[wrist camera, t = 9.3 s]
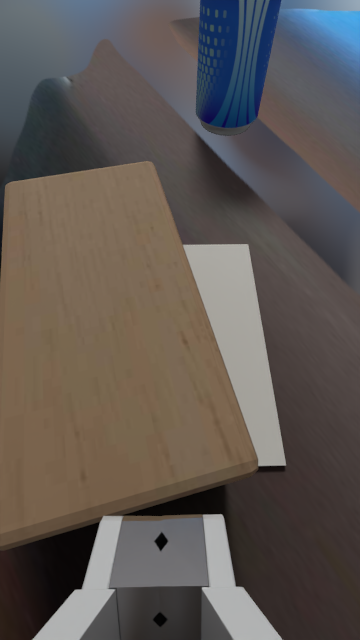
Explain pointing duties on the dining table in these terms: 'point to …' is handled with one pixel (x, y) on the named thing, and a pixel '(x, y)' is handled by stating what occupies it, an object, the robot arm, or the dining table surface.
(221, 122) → the beer can
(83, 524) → the wooden block
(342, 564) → the dining table surface
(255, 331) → the mat
